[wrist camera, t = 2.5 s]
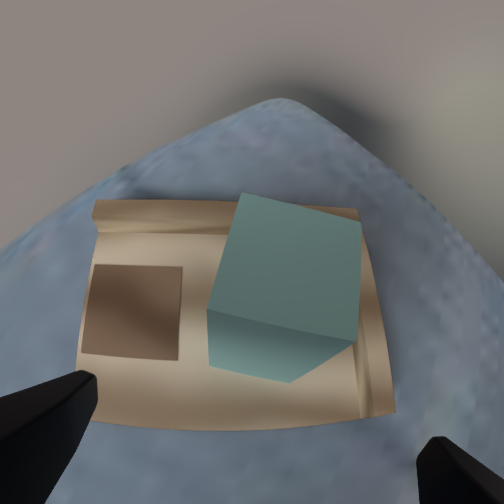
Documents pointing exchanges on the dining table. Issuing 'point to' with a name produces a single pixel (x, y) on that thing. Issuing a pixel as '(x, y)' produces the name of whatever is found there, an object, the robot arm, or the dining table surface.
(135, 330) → the tan tray
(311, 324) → the block
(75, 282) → the dining table surface
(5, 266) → the dining table surface
